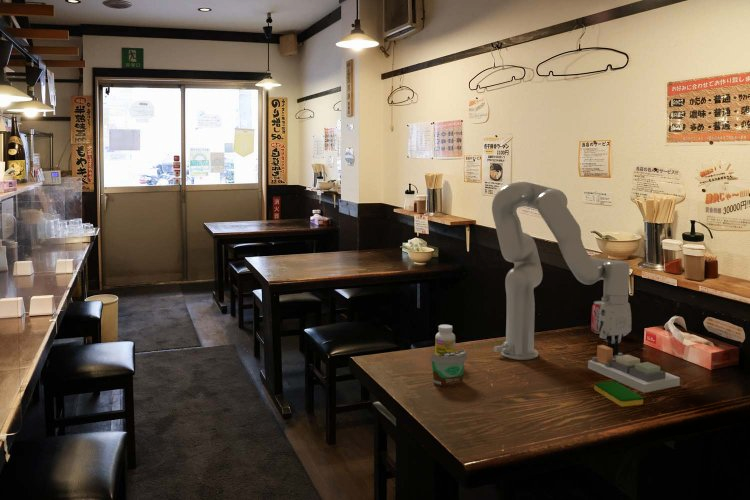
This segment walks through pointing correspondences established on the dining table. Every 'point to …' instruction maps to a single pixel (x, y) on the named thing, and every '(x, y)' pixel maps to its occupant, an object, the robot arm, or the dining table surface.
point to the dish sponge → (618, 393)
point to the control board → (634, 375)
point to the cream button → (627, 360)
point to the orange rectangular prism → (604, 354)
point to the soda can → (595, 316)
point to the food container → (448, 368)
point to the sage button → (647, 367)
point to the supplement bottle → (444, 340)
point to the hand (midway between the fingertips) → (612, 354)
